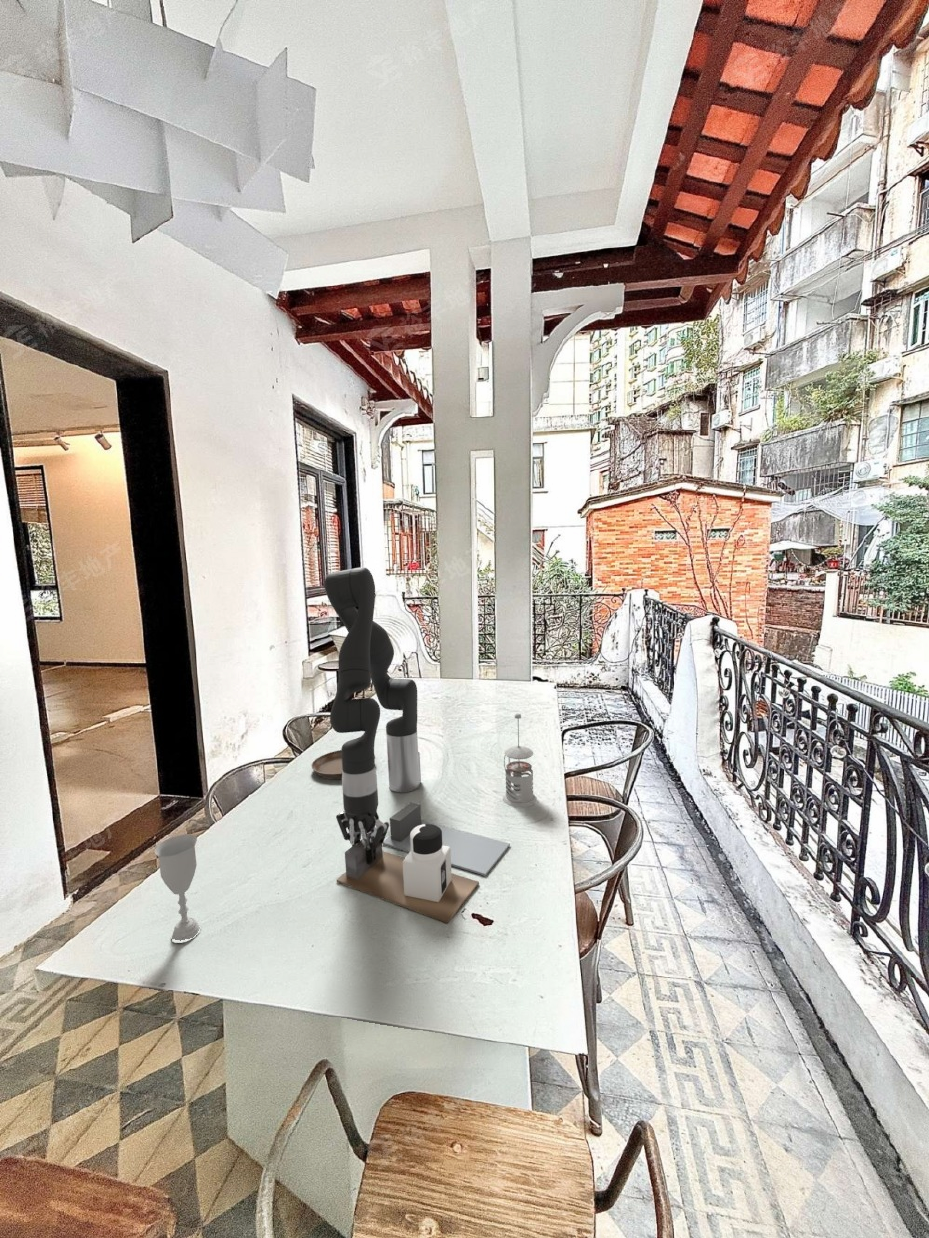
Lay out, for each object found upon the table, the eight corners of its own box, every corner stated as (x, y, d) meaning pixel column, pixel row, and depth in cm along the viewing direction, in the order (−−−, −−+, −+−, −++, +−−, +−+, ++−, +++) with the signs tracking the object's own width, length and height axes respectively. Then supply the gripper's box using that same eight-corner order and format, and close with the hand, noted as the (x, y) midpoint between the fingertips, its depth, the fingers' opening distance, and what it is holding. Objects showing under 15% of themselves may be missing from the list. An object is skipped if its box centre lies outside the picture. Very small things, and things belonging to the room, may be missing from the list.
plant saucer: (298, 778, 165) (297, 768, 165) (337, 754, 184) (336, 745, 184) (352, 787, 157) (351, 776, 157) (387, 761, 176) (386, 752, 176)
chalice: (176, 921, 100) (166, 835, 98) (212, 918, 101) (203, 832, 99) (157, 950, 93) (146, 858, 91) (196, 946, 94) (186, 855, 91)
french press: (514, 810, 139) (512, 721, 136) (492, 793, 150) (490, 710, 146) (544, 801, 144) (542, 715, 141) (521, 785, 154) (519, 704, 151)
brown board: (374, 850, 122) (373, 826, 121) (479, 883, 109) (478, 857, 108) (336, 881, 111) (334, 855, 110) (447, 923, 97) (446, 894, 97)
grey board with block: (413, 819, 136) (412, 797, 135) (509, 845, 122) (509, 821, 122) (382, 844, 125) (381, 821, 124) (485, 875, 111) (484, 850, 110)
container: (452, 879, 109) (450, 822, 108) (438, 903, 102) (436, 842, 101) (419, 873, 112) (416, 817, 110) (403, 896, 105) (400, 836, 103)
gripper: (396, 786, 113) (399, 859, 115) (347, 775, 120) (351, 844, 122) (374, 801, 106) (378, 878, 108) (324, 788, 113) (329, 861, 115)
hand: (364, 860), depth 115 cm, fingers closed on brown board, 3 cm apart
